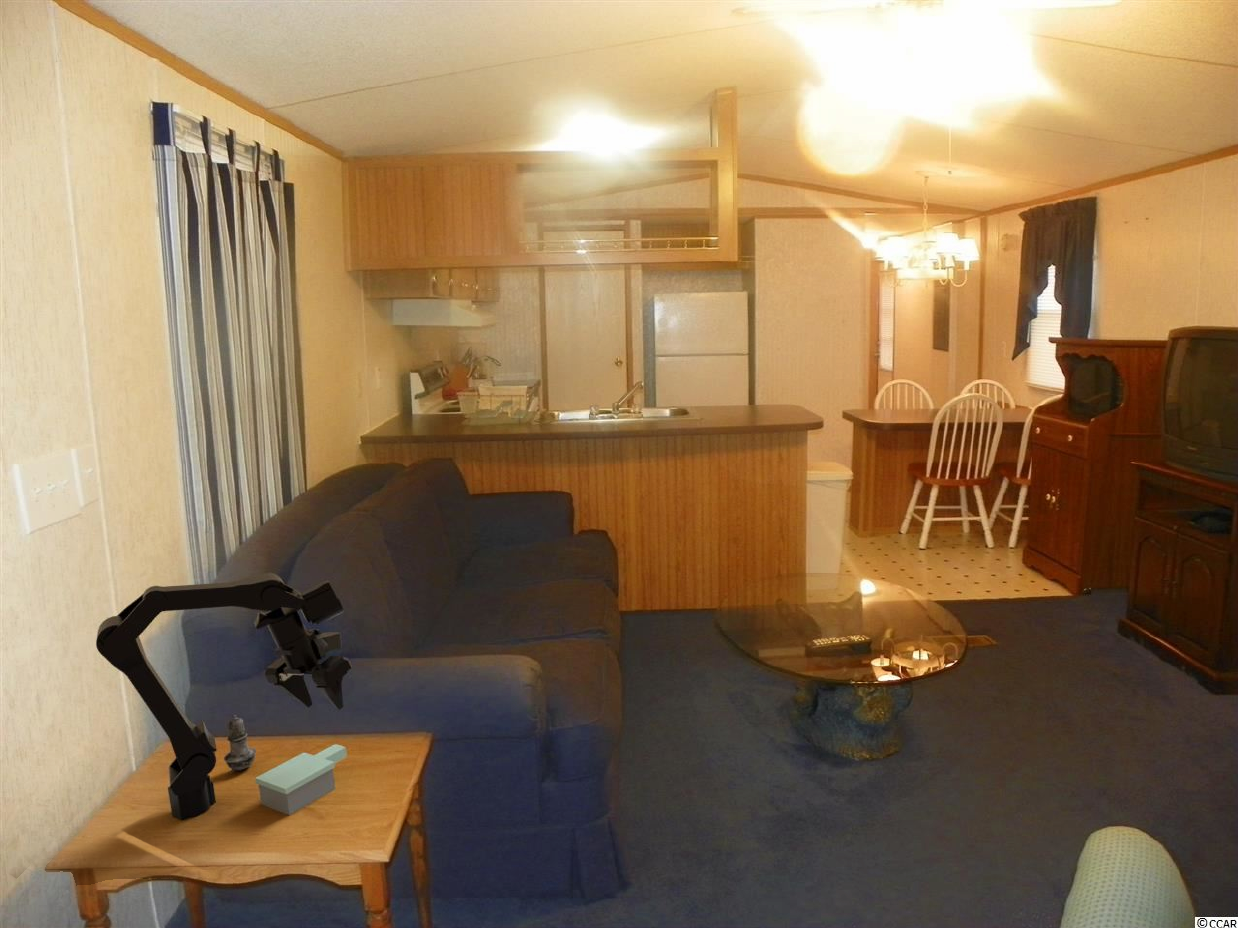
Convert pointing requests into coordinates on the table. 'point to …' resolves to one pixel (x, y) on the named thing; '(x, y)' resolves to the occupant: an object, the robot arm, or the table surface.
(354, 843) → the table surface
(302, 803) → the tub
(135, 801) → the table surface
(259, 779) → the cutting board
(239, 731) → the grey upright turned figure
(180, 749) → the robot arm
